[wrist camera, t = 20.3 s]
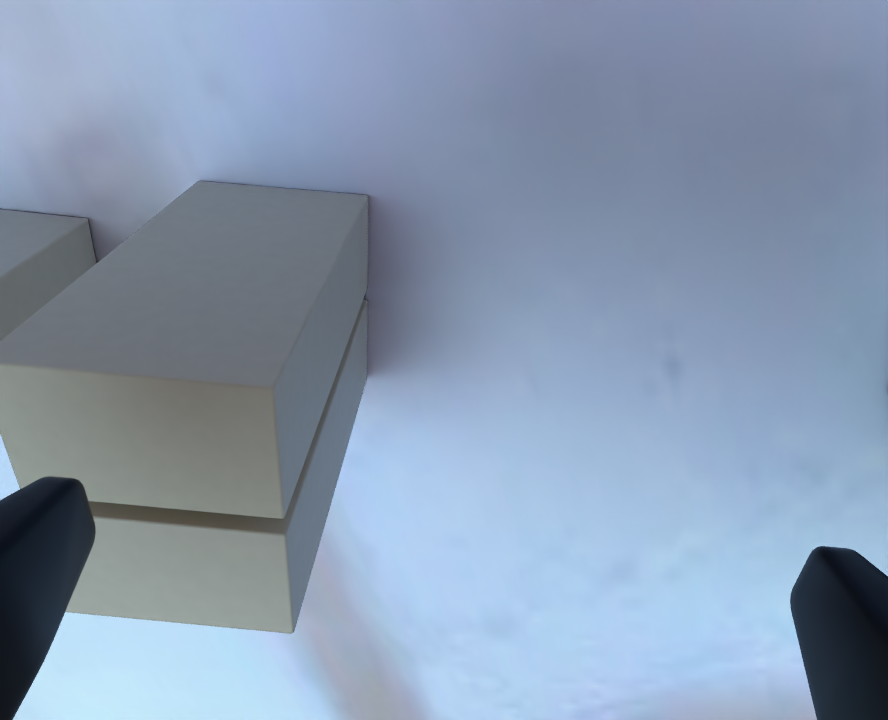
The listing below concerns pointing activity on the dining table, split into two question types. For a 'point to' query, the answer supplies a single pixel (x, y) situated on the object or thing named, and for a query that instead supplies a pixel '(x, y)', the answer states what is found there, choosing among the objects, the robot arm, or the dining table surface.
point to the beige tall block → (201, 401)
